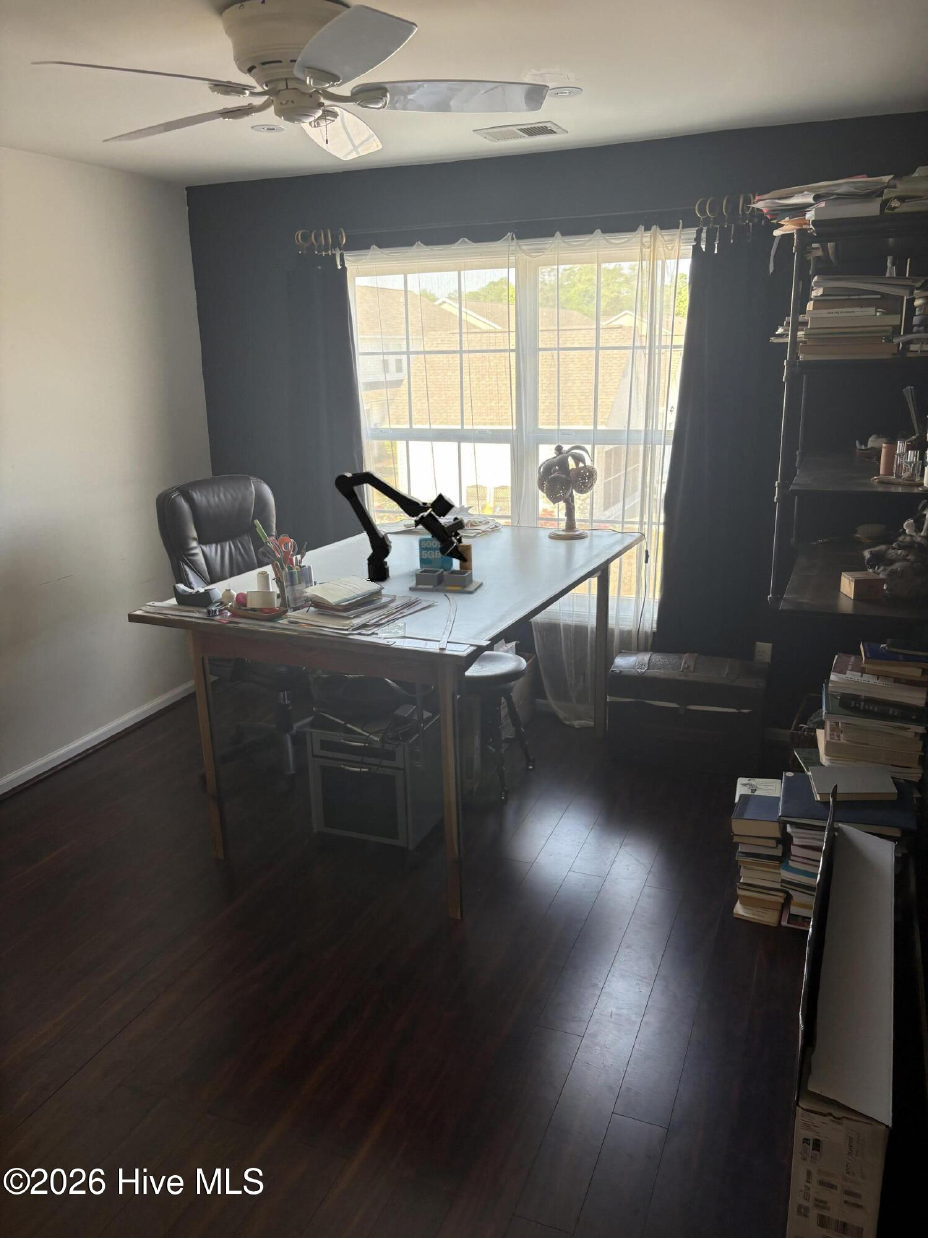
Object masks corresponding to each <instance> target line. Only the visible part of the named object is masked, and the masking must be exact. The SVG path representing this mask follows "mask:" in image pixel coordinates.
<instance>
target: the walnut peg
mask: <svg viewBox="0 0 928 1238" xmlns="http://www.w3.org/2000/svg"><path fill="white" fill-rule="evenodd" d="M472 544H473V543H470V542H469V543H468V542H466V543H465V542H463V544H459V549H460V551H461V552H462V553H463V554H464V556H465V557H466V558H467V560H468V561H467V562H466V563H465V562H462V561H460V560H458V563H459V568H458V569H459V570H472V571H473V551H472V550H473V548H472Z"/></svg>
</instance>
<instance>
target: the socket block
mask: <svg viewBox="0 0 928 1238" xmlns="http://www.w3.org/2000/svg"><path fill="white" fill-rule="evenodd" d="M414 575H415V579H414V580H415V582H414V583H413V584H412V585H410V586H408V589H409V590H408V591H415V590H420V591H419V592H435V593H436V592H438V593H453V594H454V593H455V594H458V593H459V594H472V595H473V594H474V593H475V592H476V591H477V590H478V589H480V587H481V585H482V586H483V585H484V582H483V581H480V580H479V581H475V580H473V578H474V577H473V569H472V570H460V569H450V570H448V571H447V572H445V570H444V569H428V568H423V569H421V568H420V569H419V570H418V571H416V572H415V573H414Z"/></svg>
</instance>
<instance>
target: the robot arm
mask: <svg viewBox="0 0 928 1238" xmlns="http://www.w3.org/2000/svg"><path fill="white" fill-rule="evenodd" d="M362 485H369V486H371V487H372V488H373V489H375V490H376V491H378V492H379V493H381V494H383V495H384V496H385V497H387V498H388V499H390V500H391V501H393V502H394V503H396V505H398V507H399V508H400V509H401V510H402V512H403V513H405V514H406V515H407V516H408V517H410V518H414V520H413V521H414V529H416V528H419V526H421V528H423V529H424V530H425V531H427V532H428V534H429V535H430V536H431V537H432V538H435V539H436V540H437V541H438V542H439V543H440V548H439V552H440V553H441V554H442V555H443V556H444V555H445V554H446V555H445V556H448V557H451V558H453V560H457V561H459V560H460V561H462V562H465V563H466V562H467V561H468V560H467V558H466V557H465V556H464V554H463V553H462V552H461V551H460V549H459V544H463V543H464V542H463V534H462V532H461V531H460V530H464V529H465V528H466V526H467V524H466V523H465V520H464V519H463V517H459V516H454V517H453V518H452V522H451V521H450V523H447V522H442V521H441V518H445V517H447V515H448V514H449V513H450V512H451V511H452V510H453V509H454V508H455V507H456V504H455V503H454V501H453V500H452V499H451V498H450V497H447V495H445V494H443V493H442V492H439V493H438V494H437V496H436V498H435V499H434V500H432V502H427V501H422V500H421V499H419V498H418V497H415V496H413V495H410V494H408V493H405V492H403V491H400V490H399V489H398V488H397V487H395V486H393V485H392V484H390V483H389V482H388V481H386V480H385V479H383V478H382V477H380V476H379V475H378V474H376V473H375V472H374V471H372V470H367V471H362V472H356V473H355V472H354V473H350V472H347V471H345V472H341V473H340V474H338V475H337V477H336V478H335V480H334V486H335V489H337V491H338V492H339V494H341V496H343V498H344V499H346V500H347V502H348V503H349V505H350V506H351V508H352V510H353V511H354V513H355V516H356V517H357V519H358V521H359V523H360V525H361V526H362V528H363V530H364V531H365V533H366V535H367V538H368V542H369V545H370V548H371V553H370V554H369V556H368V557H367V558H366V560H367V576H368V577H367V578H366V579H370V580H374V581H373V582H385V581H386V580H388V579H389V578H390V577H391V576H390V566H389V565H388V561H386V559H387V558H388V557H389V556H390V554H391V552H392V548H393V547H392V543H393V541H392V540H391V539H389V536H388V534H387V532H384V533H382V532H381V531H380V530H379V529H378V527H377V525H376V523H375V522H374V520H373V517H372V516H371V513H370V512H369V511H368V509H367V507H366V505H365V503H364V501H363V499H362V498H361V496H360V493H359V489H358V486H362ZM426 513H427V514H426Z"/></svg>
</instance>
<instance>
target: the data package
mask: <svg viewBox="0 0 928 1238" xmlns="http://www.w3.org/2000/svg"><path fill="white" fill-rule="evenodd" d="M431 536H432V535H421V536H419V538H418V556H419V557H418V558H419V559H418V560H419V568H420V570H421V569H423V568H428V569H450V570H452V569H453V567H454V558H451V557H448V556H445V555H446V554H445V555H444V556H443V555H442V554H441V553H440V552H439V548H440V543H439V542H438V541H437V540H436V539H435V538H432V537H431Z"/></svg>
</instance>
